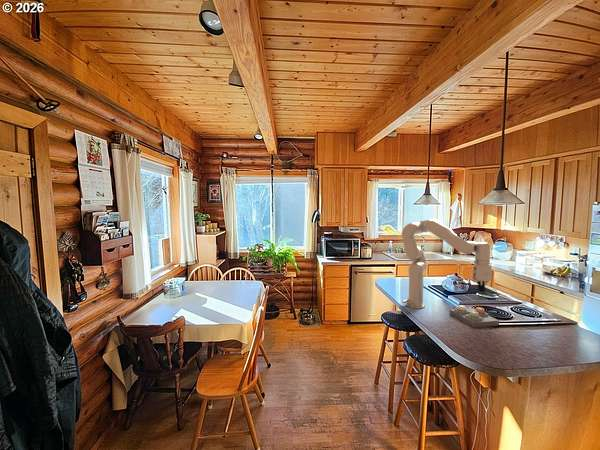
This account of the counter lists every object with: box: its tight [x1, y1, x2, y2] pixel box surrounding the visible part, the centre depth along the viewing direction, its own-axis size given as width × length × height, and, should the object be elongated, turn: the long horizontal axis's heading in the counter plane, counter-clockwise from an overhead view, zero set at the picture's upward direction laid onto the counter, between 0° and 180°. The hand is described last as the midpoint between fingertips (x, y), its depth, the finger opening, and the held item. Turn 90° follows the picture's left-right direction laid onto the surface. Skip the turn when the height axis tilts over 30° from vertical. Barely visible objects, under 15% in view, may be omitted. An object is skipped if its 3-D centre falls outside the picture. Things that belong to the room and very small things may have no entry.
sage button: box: [470, 311, 478, 318], centre depth 163 cm, size 4×4×2 cm
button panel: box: [449, 307, 500, 328], centre depth 169 cm, size 17×20×4 cm
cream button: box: [457, 304, 467, 311], centre depth 173 cm, size 4×4×2 cm
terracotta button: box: [475, 306, 485, 314], centre depth 169 cm, size 4×4×2 cm
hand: (481, 291), depth 168 cm, fingers closed
